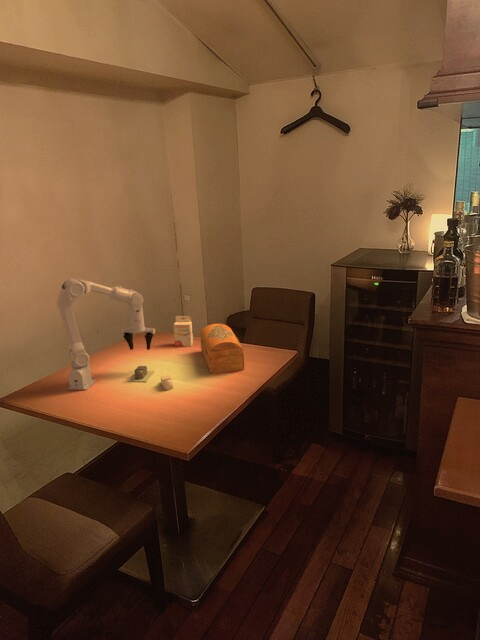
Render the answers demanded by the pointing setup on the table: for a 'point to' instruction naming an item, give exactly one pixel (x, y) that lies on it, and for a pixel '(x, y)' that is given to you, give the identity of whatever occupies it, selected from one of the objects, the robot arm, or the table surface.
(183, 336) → the ink cartridge box
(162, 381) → the ivory plug
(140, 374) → the tan-capped grey bottle
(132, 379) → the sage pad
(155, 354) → the table surface
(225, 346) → the wooden box
